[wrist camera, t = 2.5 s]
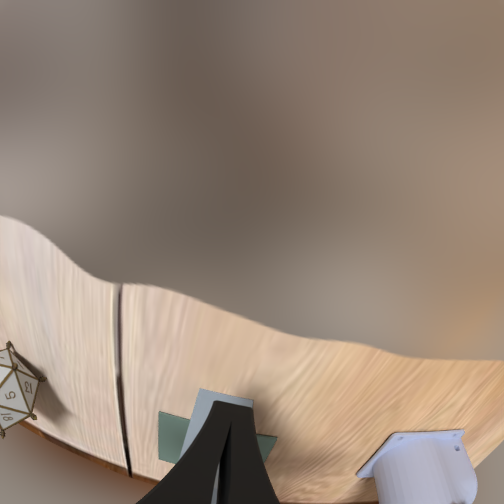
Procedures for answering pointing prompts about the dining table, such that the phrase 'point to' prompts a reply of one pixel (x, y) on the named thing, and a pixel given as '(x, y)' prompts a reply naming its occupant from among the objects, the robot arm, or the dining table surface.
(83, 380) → the dining table surface
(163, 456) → the felt mat
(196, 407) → the slate-blue block
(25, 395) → the game die
